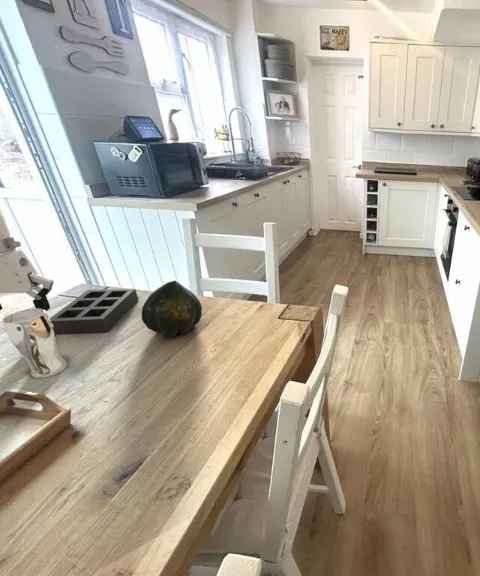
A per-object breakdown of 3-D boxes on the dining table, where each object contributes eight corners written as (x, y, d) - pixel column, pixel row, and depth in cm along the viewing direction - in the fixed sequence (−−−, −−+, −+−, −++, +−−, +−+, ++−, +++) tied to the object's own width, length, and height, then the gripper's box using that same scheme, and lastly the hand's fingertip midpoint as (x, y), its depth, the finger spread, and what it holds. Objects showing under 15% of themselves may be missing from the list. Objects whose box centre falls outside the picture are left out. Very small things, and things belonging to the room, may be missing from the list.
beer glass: (39, 363, 79) (12, 309, 72) (75, 358, 81) (52, 306, 75) (22, 382, 73) (-8, 325, 66) (62, 376, 75) (36, 321, 69)
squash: (133, 334, 82) (168, 285, 84) (128, 311, 93) (160, 268, 94) (187, 351, 92) (218, 307, 94) (178, 329, 103) (206, 289, 104)
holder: (51, 335, 88) (45, 321, 87) (92, 302, 105) (87, 289, 103) (107, 332, 91) (102, 318, 89) (138, 300, 108) (135, 288, 106)
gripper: (49, 241, 77) (72, 303, 85) (-43, 239, 73) (-11, 304, 81) (25, 252, 71) (52, 319, 78) (-78, 250, 67) (-39, 320, 74)
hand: (20, 311), depth 79 cm, fingers open, 9 cm apart
